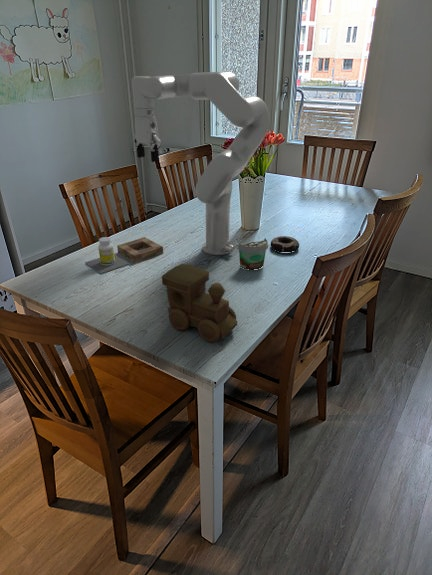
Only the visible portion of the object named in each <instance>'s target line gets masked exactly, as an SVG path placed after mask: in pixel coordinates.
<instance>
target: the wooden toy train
mask: <svg viewBox="0 0 432 575" xmlns="http://www.w3.org/2000/svg"><path fill="white" fill-rule="evenodd" d="M209 280H210V271H208V270H206V269H204V268H202V267H197V266H195V265H191V264H188V263H187V264H186V263H180V264H178V265H176V266H174V267H173V268H171V269H169V270H168V271H166V272H165V273H164V274H162V276H161V282H162V286H165V287H166V295H167V301H168V305H169V307H168V309H167V312H168V320H169V322H170V324H171V325H172V327H173V328H175V329H177V330H178V331H185V330H187V329H188V328H189V326H191V327H193V328H196V329H197V330H198V333H199V335H200V337H201V338H202V339H203V340H205V341H206V342H208V343H214V342H217V341H218V340H219V339H220V338H222V339H225V337H226V336H227V335H229V333H231V331H232V330H234V329H235V328H236V327H237V326H238V320H237V314H236V312H235V310H234V309H233V308H232V307H231V306H230V302H229V300H227V299H225V298H223V297H224V295H225V293H226V290H225V287H224V286H223V285H222V284H221V283H220V282H214V283H212V284H211V286H210V287H209V288H208V290H207V293H206V283H207V282H208V281H209Z"/></svg>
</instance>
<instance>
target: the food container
mask: <svg viewBox="0 0 432 575" xmlns="http://www.w3.org/2000/svg"><path fill="white" fill-rule="evenodd" d="M268 248H269V242H268V239H267V238H264V240H261V241H251V242H248V243H246V244H240V243H238V245H237V250H238V251H239V252H238V255H239V257H238V258H239V267H242V268H244V269H249V270H254V269H259V268H261V267H262V266H263V267H264V266H265V265H264V263H265V258H266V252H267V250H268ZM242 268H241V269H242ZM244 269H243V270H244Z"/></svg>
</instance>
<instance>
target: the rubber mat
mask: <svg viewBox="0 0 432 575" xmlns="http://www.w3.org/2000/svg"><path fill="white" fill-rule="evenodd" d="M114 256H115V263H114V264H112V265H108V266H105V265H102V264H101V261H100V257H98V258H94V259H91V260H88V261H85V264H86V265H87V266H89V267H90V268H91V269H93V270H94V271H95V272H97V273H98V274H100V275H103V274H107V273H109V272H112V271H115V270H117V269H120V268H124V267H127V266H128V265H129V266H130V262H128V261H126V260H125V259H123V258H121V257H120V256H118V255H117V254H115V253H114Z"/></svg>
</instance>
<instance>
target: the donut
mask: <svg viewBox="0 0 432 575" xmlns="http://www.w3.org/2000/svg"><path fill="white" fill-rule="evenodd" d="M270 247H271V249H272V250H273V249H274V250H276V251H279V252H292V251H295V252H297V251H299V248H300V242H299V240H297V239H296V238H295V237H293V236H287V235H282V236H281V235H280V236H276V237H273V239H271V241H270ZM274 250H273V251H274ZM296 250H297V251H296ZM276 251H275V252H276ZM279 252H278V253H279Z"/></svg>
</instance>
